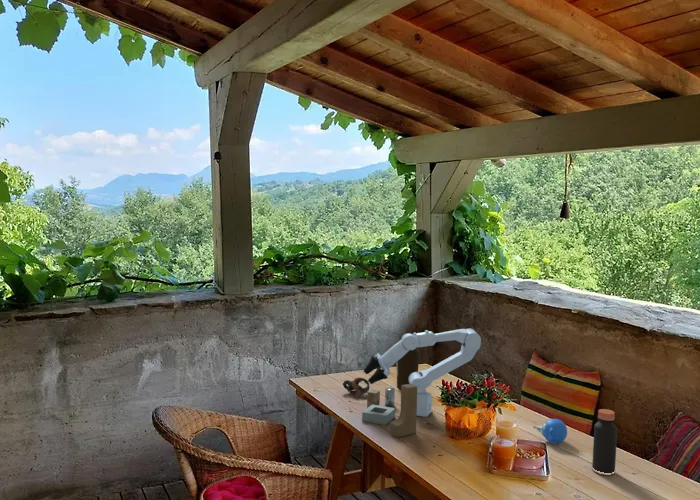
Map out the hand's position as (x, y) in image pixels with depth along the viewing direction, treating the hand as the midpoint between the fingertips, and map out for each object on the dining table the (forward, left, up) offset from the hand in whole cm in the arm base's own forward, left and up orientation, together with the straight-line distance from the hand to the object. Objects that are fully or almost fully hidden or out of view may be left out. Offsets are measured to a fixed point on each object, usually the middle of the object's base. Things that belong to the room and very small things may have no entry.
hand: (367, 377), depth 246 cm
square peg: (0, -6, -14) cm, 15 cm away
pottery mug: (+14, -19, -15) cm, 28 cm away
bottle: (-91, +15, -15) cm, 93 cm away
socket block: (-8, +5, -14) cm, 17 cm away
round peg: (-6, -12, -14) cm, 19 cm away
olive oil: (-3, -39, -15) cm, 42 cm away
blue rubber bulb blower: (-72, -3, -15) cm, 73 cm away
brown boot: (-21, +15, -15) cm, 30 cm away
